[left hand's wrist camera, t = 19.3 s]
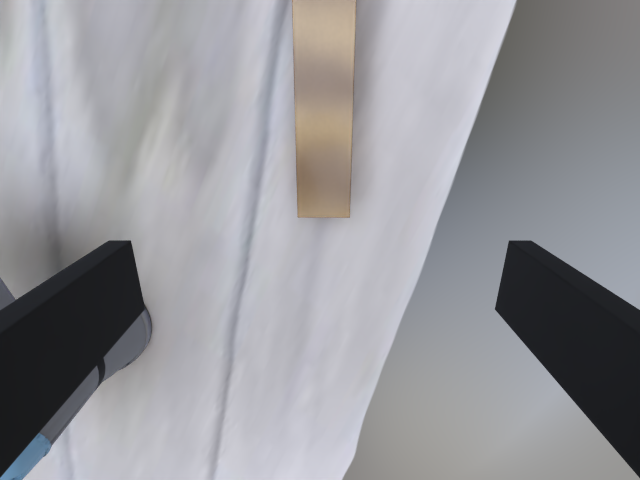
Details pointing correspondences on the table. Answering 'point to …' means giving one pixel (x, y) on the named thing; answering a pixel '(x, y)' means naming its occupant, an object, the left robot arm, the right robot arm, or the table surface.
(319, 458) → the table surface
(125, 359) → the left robot arm
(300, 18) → the bar
